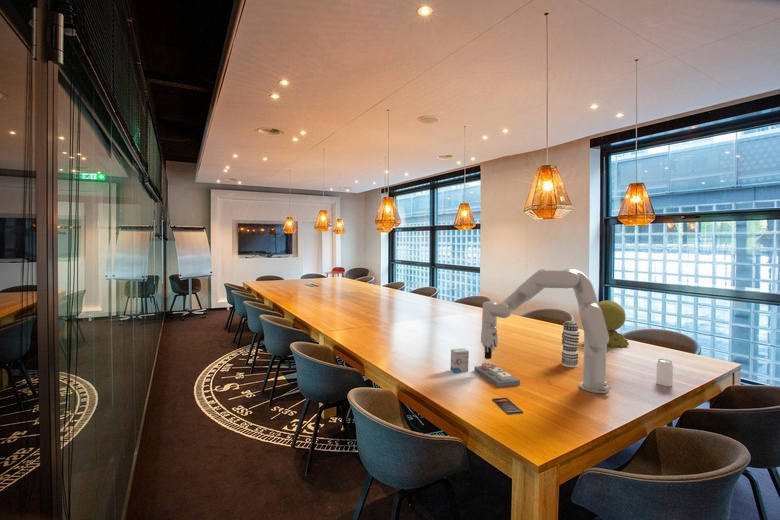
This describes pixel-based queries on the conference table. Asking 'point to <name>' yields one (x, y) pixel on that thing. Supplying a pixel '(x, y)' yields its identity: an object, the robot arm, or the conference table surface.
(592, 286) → the robot arm
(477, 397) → the conference table surface
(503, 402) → the smartphone
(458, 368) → the ink box
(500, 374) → the tile one
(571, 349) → the leaning tower model
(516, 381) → the console
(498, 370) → the tile two
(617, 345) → the trophy
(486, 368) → the tile three
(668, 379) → the can
